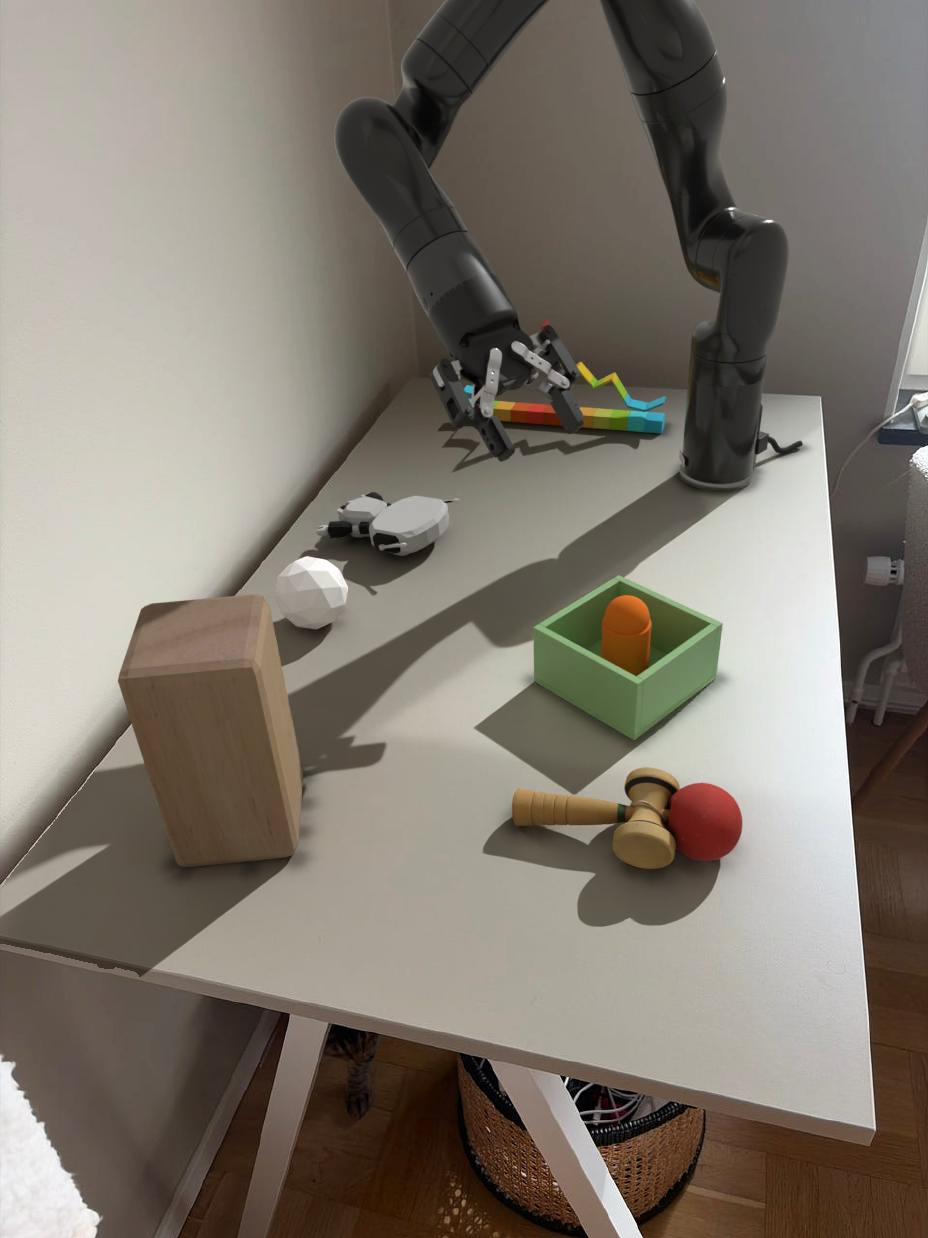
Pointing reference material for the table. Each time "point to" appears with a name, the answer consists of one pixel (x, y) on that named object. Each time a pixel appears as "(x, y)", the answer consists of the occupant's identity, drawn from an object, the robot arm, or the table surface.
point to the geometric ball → (311, 592)
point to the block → (215, 728)
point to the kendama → (646, 818)
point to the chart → (588, 409)
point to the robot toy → (391, 522)
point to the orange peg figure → (626, 634)
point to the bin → (605, 689)
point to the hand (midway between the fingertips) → (543, 443)
